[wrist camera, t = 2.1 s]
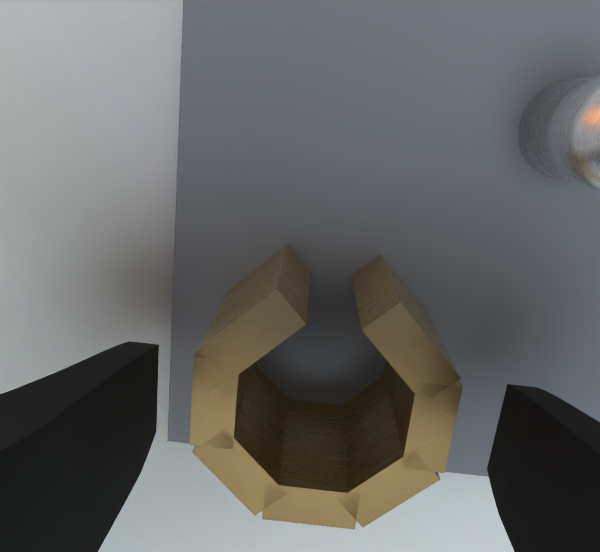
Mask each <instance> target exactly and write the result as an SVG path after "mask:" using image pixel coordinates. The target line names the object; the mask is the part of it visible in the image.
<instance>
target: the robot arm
mask: <svg viewBox="0 0 600 552" xmlns="http://www.w3.org/2000/svg"><path fill="white" fill-rule="evenodd" d="M158 350H159V345H156V344H147V343H138V342H126V343H123V344H120V345H117V346H115V347H112V348H110V349H108V350H106V351H103V352H101V353H99V354H97V355H94V356H92V357H90V358H88V359H86V360H83V361H81V362H79V363H77V364H74V365H72V366H70V367H68V368H65V369H63V370H61V371H59V372H56V373H54V374H51V375H49V376H46V377H44V378H41V379H39V380H36V381H34V382H31V383H29V384H26V385H24V386H21V387H19V388H16V389H14V390H11V391H9V392H6V393H3V394H0V552H98V550H99V548H100V547H101V545H102V543H103V541H104V539H105V537H106V536H107V534H108V532H109V530H110V528H111V527H112V525H113V523H114V521H115V519H116V517H117V516H118V514H119V512H120V510H121V508H122V507H123V505H124V503H125V501H126V499H127V497H128V495H129V494H130V492H131V490H132V488H133V486H134V484H135V482H136V481H137V479H138V477H139V475H140V473H141V471H142V468H143V465H144V463H145V460H146V458H147V455H148V453H149V450H150V447H151V444H152V442H153V439H154V436H155V433H156V422H157V386H158ZM487 471H488V475H489V479H490V483H491V487H492V491H493V495H494V499H495V502H496V506H497V509H498V512H499V515H500V518H501V520H502V523H503V525H504V527H505V530H506V532H507V535H508V537H509V539H510V542H511V544H512V546H513V549H514V551H515V552H600V422H599V421H597V420H595V419H594V418H592V417H590V416H589V415H587V414H586V413H584V412H582V411H581V410H579V409H577V408H576V407H574V406H572V405H571V404H569V403H567V402H565V401H564V400H562V399H560V398H558V397H557V396H555V395H553V394H551V393H549V392H547V391H545V390H543V389H540V388H538V387H530V386H521V385H512V384H507V387H506V392H505V396H504V400H503V404H502V408H501V412H500V417H499V421H498V425H497V429H496V433H495V437H494V442H493V446H492V450H491V454H490V458H489V462H488V466H487Z"/></svg>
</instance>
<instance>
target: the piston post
mask: <svg viewBox="0 0 600 552" xmlns="http://www.w3.org/2000/svg"><path fill="white" fill-rule="evenodd" d="M518 140H519V146H520V150H521V152H522V154H523V156H524V158H525V160H526V161H527V162H528V163H529V165H530V166H531V167H533V168H534V169H535V170H537V171H538V172H540V173H542V174H544V175H547V176H550V177H554V178H557V179H561V180H564V181H567V182H571V183H574V184H578V185H581V186H584V187H588V188H591V189H595V190H598V191H600V76H592V77H584V78H576V79H568V80H562V81H558V82H556V83H553V84H551V85H549V86H547V87H546V88H544V89H543V90H541V91H540V92H539V93H538V94H537V95H535V97H534V98H533V99H532V100H531V101H530V102H529V104H528V105H527V107H526V109H525V110H524V112H523V115H522V117H521V120H520V124H519V130H518Z"/></svg>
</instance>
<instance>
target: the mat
mask: <svg viewBox="0 0 600 552" xmlns="http://www.w3.org/2000/svg"><path fill="white" fill-rule="evenodd" d="M592 76H600V0H183V28H182V56H181V83H180V111H179V139H178V167H177V195H176V223H175V251H174V278H173V306H172V334H171V362H170V390H169V418H168V441H174V442H183V443H190V425H191V405H192V384H193V364H194V356H195V354H196V352H197V350H198V348H199V346H200V344H201V342H202V340H203V338H204V336H205V334H206V332H207V330H208V328H209V326H210V325H211V323H212V321H213V319H214V317H215V315H216V313H217V311H218V309H219V307H220V305H221V303H222V301H223V299H224V297H225V296H226V294H227V292H228V290H230V289H231V288H232V287H233V286H235V285H236V284H237V283H239V282H240V281H241V280H242V279H244V278H245V277H246V276H247V275H249V274H250V273H251V272H252V271H254V270H255V269H256V268H258V267H259V266H260V265H261V264H263V263H264V262H265V261H266V260H268V259H269V258H270V257H271V256H273V255H274V254H275V253H277V252H278V251H279V250H280V249H282V248H283V247H284V246H285V245H287V244H288V245H289V246H290V247H291V248H292V250H293V251H294V252H295V253H296V254H297V256H298V257H299V258H300V259H301V260H302V262H303V263H304V264H305V265H306V266H307V268H308V269H309V270H310V280H309V294H308V309H307V323H306V325H305V326H303V327H302V328H300V329H299V330H298V331H296V332H295V333H294V334H292V335H291V336H290V337H288V338H287V339H286V340H284V341H283V342H282V343H280V344H279V345H278V346H276V347H275V348H274V349H272V350H271V351H269V352H268V353H267V354H265V355H264V356H263V357H261V358H260V359H259V360H257V361H256V363H257V364H258V366H259V367H260V368H261V369H262V370H263V371H264V372H265V373H266V374H267V376H268V377H269V378H270V379H271V380H272V381H273V382H274V383H275V384H276V386H277V387H278V388H279V389H280V390H281V391H282V392H283V393H284V394H285V395H286V397H287V398H288V399H295V400H304V401H313V402H322V403H331V404H340V405H342V404H343V403H344V402H346V401H347V400H349V399H350V398H352V397H353V396H355V395H356V394H357V393H359V392H360V391H362V390H363V389H365V388H366V387H368V386H369V385H371V384H372V383H373V382H375V381H376V380H378V379H379V378H381V377H382V376H384V373H385V367H386V361H387V360H386V359H385V357H384V356H383V355H382V354H381V353H380V351H379V350H378V349H377V348H376V347H375V345H374V344H373V343H372V342H371V341H370V339H369V338H368V337H367V336H366V335H365V333H364V332H363V331H362V328H361V323H360V318H359V312H358V307H357V301H356V296H355V290H354V285H353V279H352V275H353V274H354V273H356V272H357V271H358V270H360V269H361V268H362V267H364V266H365V265H366V264H368V263H369V262H370V261H372V260H373V259H374V258H376V257H377V256H378V255H380V254H381V255H382V257H383V258H384V259H385V260H386V262H387V263H388V264H389V265H390V267H391V268H392V269H393V270H394V272H395V273H396V274H397V275H398V277H399V278H400V279H401V280H402V282H403V283H404V284H405V286H406V287H407V288H408V289H409V291H410V292H411V293H412V294H413V296H414V297H415V298H416V299H417V301H418V302H419V303H420V304H421V306H422V307H423V308H424V309H425V311H426V312H427V314H428V315H429V317H430V319H431V321H432V323H433V325H434V327H435V329H436V331H437V333H438V335H439V337H440V339H441V340H442V342H443V344H444V346H445V348H446V350H447V352H448V354H449V356H450V358H451V360H452V362H453V364H454V365H455V367H456V369H457V371H458V373H459V375H460V377H461V379H460V381H461V383H462V385H463V390H462V394H461V399H460V404H459V408H458V413H457V418H456V422H455V427H454V432H453V437H452V441H451V446H450V451H449V455H448V460H447V465H446V469H445V472H453V473H462V474H471V475H480V476H489V475H488V471H487V466H488V462H489V458H490V454H491V450H492V446H493V442H494V437H495V433H496V429H497V425H498V421H499V417H500V412H501V408H502V404H503V400H504V396H505V392H506V387H507V384H512V385H521V386H530V387H538V388H540V389H543V390H545V391H547V392H549V393H551V394H553V395H555V396H557V397H558V398H560V399H562V400H564V401H565V402H567V403H569V404H571V405H572V406H574V407H576V408H577V409H579V410H581V411H582V412H584V413H586V414H587V415H589V416H590V417H592V418H594V419H595V420H597V421H599V422H600V191H598V190H595V189H591V188H588V187H584V186H581V185H578V184H574V183H571V182H567V181H564V180H561V179H557V178H554V177H550V176H547V175H544V174H542V173H540V172H538V171H537V170H535V169H534V168H533V167H531V166H530V165H529V163H528V162H527V161H526V160H525V158H524V156H523V154H522V152H521V150H520V146H519V140H518V130H519V124H520V120H521V117H522V115H523V112H524V110H525V109H526V107H527V105H528V104H529V102H530V101H531V100H532V99H533V98H534V97H535V95H537V94H538V93H539V92H540V91H541V90H543V89H544V88H546V87H547V86H549V85H551V84H553V83H556V82H558V81H562V80H568V79H576V78H584V77H592Z"/></svg>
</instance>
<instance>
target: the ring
mask: <svg viewBox="0 0 600 552" xmlns="http://www.w3.org/2000/svg"><path fill="white" fill-rule="evenodd" d="M352 279H353V285H354V290H355V296H356V301H357V307H358V312H359V318H360V323H361V328H362V331H363V332H364V333H365V335H366V336H367V337H368V338H369V339H370V341H371V342H372V343H373V344H374V345H375V347H376V348H377V349H378V350H379V351H380V353H381V354H382V355H383V356H384V357H385V359H386V360H387V361H386V367H385V373H384V376H382V377H381V378H379V379H378V380H376V381H375V382H373V383H372V384H371V385H369V386H368V387H366V388H365V389H363V390H362V391H360V392H359V393H357V394H356V395H355V396H353V397H352V398H350V399H349V400H347V401H346V402H344V403H343V404H342V405H340V404H331V403H322V402H313V401H304V400H295V399H288V398H287V397H286V395H285V394H284V393H283V392H282V391H281V390H280V389H279V388H278V387H277V386H276V384H275V383H274V382H273V381H272V380H271V379H270V378H269V377H268V376H267V374H266V373H265V372H264V371H263V370H262V369H261V368H260V367H259V366H258V364H257V363H256V361H257V360H259V359H260V358H261V357H263V356H264V355H265V354H267V353H268V352H269V351H271V350H272V349H274V348H275V347H276V346H278V345H279V344H280V343H282V342H283V341H284V340H286V339H287V338H288V337H290V336H291V335H292V334H294V333H295V332H296V331H298V330H299V329H300V328H302V327H303V326H305V325H306V323H307V309H308V294H309V280H310V270H309V269H308V268H307V266H306V265H305V264H304V263H303V262H302V260H301V259H300V258H299V257H298V256H297V254H296V253H295V252H294V251H293V250H292V248H291V247H290V246H289V245H288V244H287V245H285V246H284V247H283V248H282V249H280V250H279V251H278V252H277V253H275V254H274V255H273V256H271V257H270V258H269V259H268V260H266V261H265V262H264V263H263V264H261V265H260V266H259V267H258V268H256V269H255V270H254V271H252V272H251V273H250V274H249V275H247V276H246V277H245V278H244V279H242V280H241V281H240V282H239V283H237V284H236V285H235V286H233V287H232V288H231V289H230V290H228V292H227V294H226V296H225V297H224V299H223V301H222V303H221V305H220V307H219V309H218V311H217V313H216V315H215V317H214V319H213V321H212V323H211V325H210V326H209V328H208V330H207V332H206V334H205V336H204V338H203V340H202V342H201V344H200V346H199V348H198V350H197V352H196V354H195V356H194V364H193V384H192V405H191V425H190V445H195V446H194V449H193V453H194V454H195V455H196V456H197V457H198V458H199V459H200V460H201V461H202V462H203V463H204V464H205V465H206V466H207V467H208V468H209V469H210V470H211V471H212V472H213V473H214V474H215V475H216V476H217V477H218V478H219V479H220V480H221V482H222V483H223V484H224V485H225V486H226V487H227V488H228V489H229V490H230V491H231V492H232V493H233V494H234V495H235V496H236V497H237V498H238V499H239V500H240V501H241V502H242V503H243V504H244V505H245V506H246V507H247V508H248V509H249V510H250V511H251V512H252V513H253V514H254V515H256V514H258V513H259V512H261V511H262V510H263V517H262V519H267V520H276V521H285V522H294V523H303V524H312V525H321V526H330V527H339V528H348V529H355V524H356V521H357V522H358V523H359V524H360V525H361V526H362V527H364V526H366V525H368V524H369V523H371V522H372V521H374V520H376V519H377V518H379V517H380V516H382V515H384V514H385V513H387V512H388V511H390V510H392V509H393V508H395V507H397V506H398V505H400V504H401V503H403V502H405V501H406V500H408V499H409V498H411V497H413V496H414V495H416V494H417V493H419V492H421V491H422V490H424V489H425V488H427V487H429V486H430V485H432V484H433V483H435V482H437V481H438V480H440V478H439V475H438V472H441V473H445V469H446V465H447V460H448V455H449V451H450V446H451V441H452V437H453V432H454V427H455V422H456V418H457V413H458V408H459V404H460V399H461V394H462V390H463V385H462V383H461V381H460V379H461V377H460V375H459V373H458V371H457V369H456V367H455V365H454V364H453V362H452V360H451V358H450V356H449V354H448V352H447V350H446V348H445V346H444V344H443V342H442V340H441V339H440V337H439V335H438V333H437V331H436V329H435V327H434V325H433V323H432V321H431V319H430V317H429V315H428V314H427V312H426V311H425V309H424V308H423V307H422V306H421V304H420V303H419V302H418V301H417V299H416V298H415V297H414V296H413V294H412V293H411V292H410V291H409V289H408V288H407V287H406V286H405V284H404V283H403V282H402V280H401V279H400V278H399V277H398V275H397V274H396V273H395V272H394V270H393V269H392V268H391V267H390V265H389V264H388V263H387V262H386V260H385V259H384V258H383V257H382V255H381V254H380V255H378V256H377V257H376V258H374V259H373V260H372V261H370V262H369V263H368V264H366V265H365V266H364V267H362V268H361V269H360V270H358V271H357V272H356V273H354V274H353V275H352Z"/></svg>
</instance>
